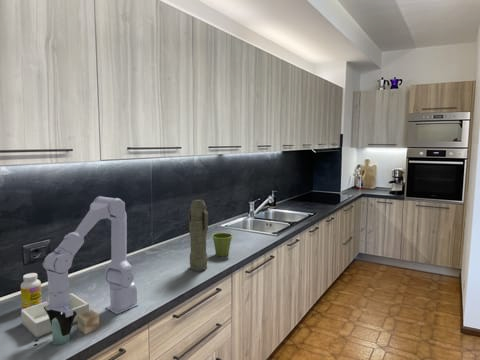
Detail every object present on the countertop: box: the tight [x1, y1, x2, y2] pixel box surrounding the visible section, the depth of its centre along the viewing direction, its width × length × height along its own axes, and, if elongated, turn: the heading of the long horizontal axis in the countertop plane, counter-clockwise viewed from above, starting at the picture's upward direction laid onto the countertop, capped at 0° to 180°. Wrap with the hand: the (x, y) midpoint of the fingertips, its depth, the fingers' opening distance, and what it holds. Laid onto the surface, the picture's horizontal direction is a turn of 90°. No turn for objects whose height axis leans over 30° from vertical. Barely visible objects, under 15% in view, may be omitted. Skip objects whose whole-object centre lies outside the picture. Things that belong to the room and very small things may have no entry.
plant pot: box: [211, 232, 233, 257], centre depth 193 cm, size 12×12×11 cm
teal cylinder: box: [51, 318, 71, 345], centre depth 110 cm, size 5×5×7 cm
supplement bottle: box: [20, 272, 43, 310], centre depth 131 cm, size 7×7×13 cm
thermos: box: [188, 198, 209, 272], centre depth 171 cm, size 9×12×35 cm
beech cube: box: [77, 309, 100, 335], centre depth 117 cm, size 5×5×5 cm
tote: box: [20, 292, 90, 339], centre depth 122 cm, size 18×14×5 cm
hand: (60, 330), depth 110 cm, fingers open, 7 cm apart
